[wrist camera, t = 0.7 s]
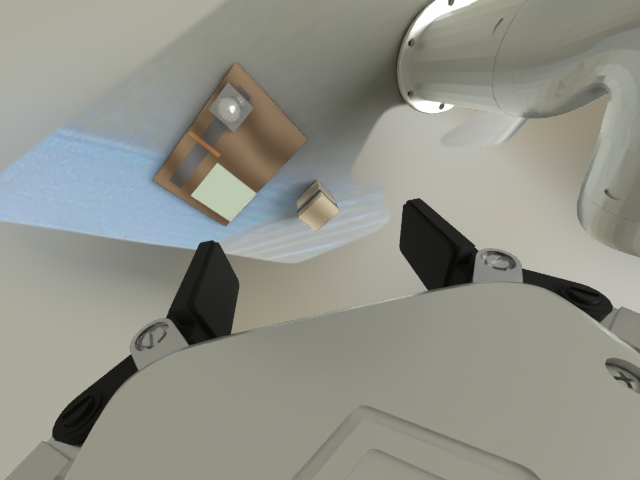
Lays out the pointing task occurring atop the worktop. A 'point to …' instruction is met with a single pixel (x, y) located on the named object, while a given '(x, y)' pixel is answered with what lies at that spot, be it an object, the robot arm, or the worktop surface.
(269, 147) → the board
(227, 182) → the pad
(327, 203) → the beige block
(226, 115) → the silver slider knob
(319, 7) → the worktop surface
